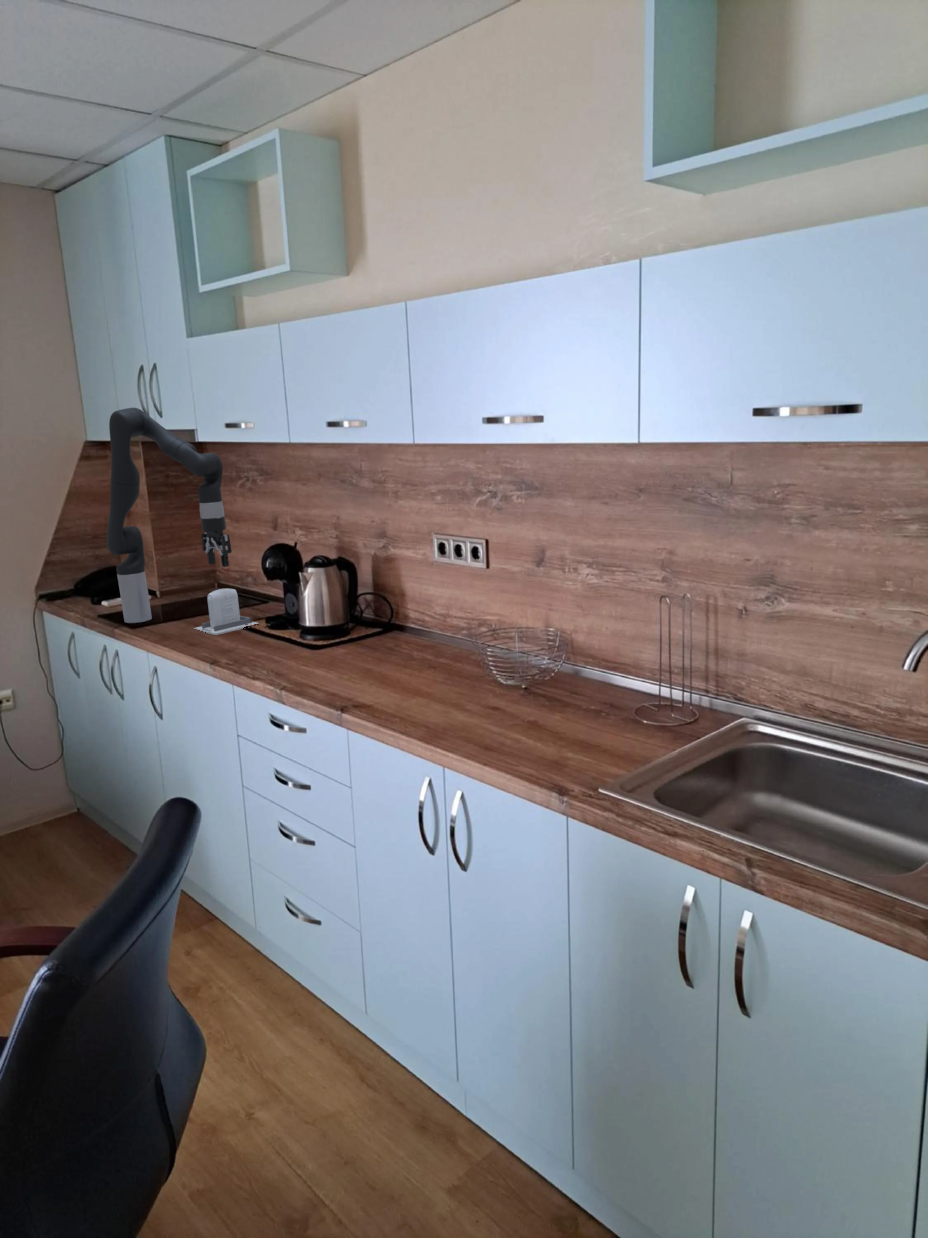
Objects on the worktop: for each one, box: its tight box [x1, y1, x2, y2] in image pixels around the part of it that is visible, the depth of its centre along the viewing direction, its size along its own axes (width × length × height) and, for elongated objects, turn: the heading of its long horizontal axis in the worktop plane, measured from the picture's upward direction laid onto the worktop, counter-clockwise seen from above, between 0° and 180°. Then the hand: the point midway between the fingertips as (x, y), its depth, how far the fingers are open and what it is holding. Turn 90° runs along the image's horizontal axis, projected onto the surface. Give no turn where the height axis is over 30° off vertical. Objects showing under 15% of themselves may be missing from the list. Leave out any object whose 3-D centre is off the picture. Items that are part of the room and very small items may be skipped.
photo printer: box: [206, 587, 241, 628], centre depth 297 cm, size 10×4×12 cm, turn 134°
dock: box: [193, 615, 260, 636], centre depth 298 cm, size 14×16×2 cm
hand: (218, 565), depth 294 cm, fingers open, 8 cm apart
